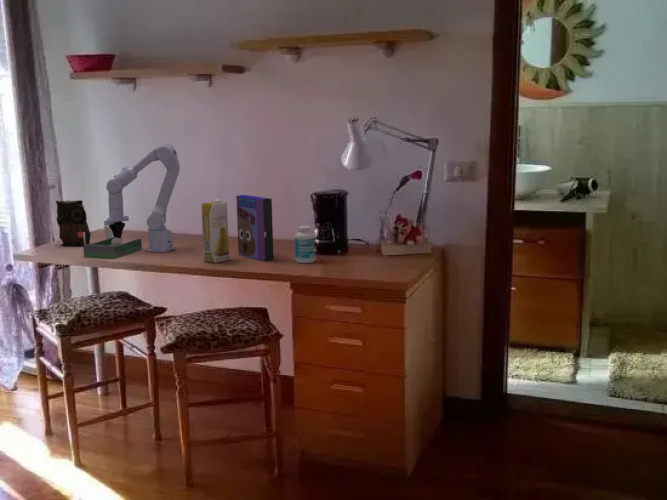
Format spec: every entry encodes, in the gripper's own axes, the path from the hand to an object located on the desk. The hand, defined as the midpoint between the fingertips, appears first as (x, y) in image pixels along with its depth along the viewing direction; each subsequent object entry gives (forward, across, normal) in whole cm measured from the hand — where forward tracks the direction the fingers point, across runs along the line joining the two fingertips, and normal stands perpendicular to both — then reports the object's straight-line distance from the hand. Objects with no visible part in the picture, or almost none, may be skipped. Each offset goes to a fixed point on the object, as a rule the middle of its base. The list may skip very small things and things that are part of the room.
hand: (117, 240), depth 315 cm
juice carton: (+3, +8, +50) cm, 50 cm away
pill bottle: (+2, +1, +84) cm, 84 cm away
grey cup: (+5, -20, -16) cm, 26 cm away
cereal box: (+3, -2, +62) cm, 62 cm away
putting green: (+5, +4, 0) cm, 6 cm away
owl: (+6, -9, -26) cm, 28 cm away
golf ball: (+1, +1, 0) cm, 2 cm away
